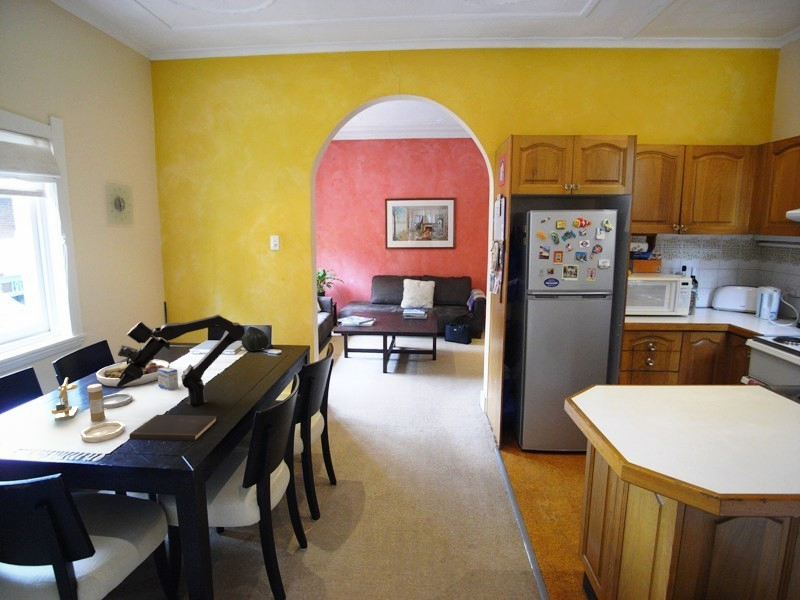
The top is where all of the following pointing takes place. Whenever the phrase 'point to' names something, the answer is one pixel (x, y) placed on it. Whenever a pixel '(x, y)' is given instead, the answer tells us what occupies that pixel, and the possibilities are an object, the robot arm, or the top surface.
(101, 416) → the sprinkles bottle
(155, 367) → the bowl
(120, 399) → the slate dish
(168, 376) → the medicine box
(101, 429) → the cream dish
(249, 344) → the squash
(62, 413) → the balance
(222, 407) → the top surface
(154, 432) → the hardcover book
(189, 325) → the robot arm
